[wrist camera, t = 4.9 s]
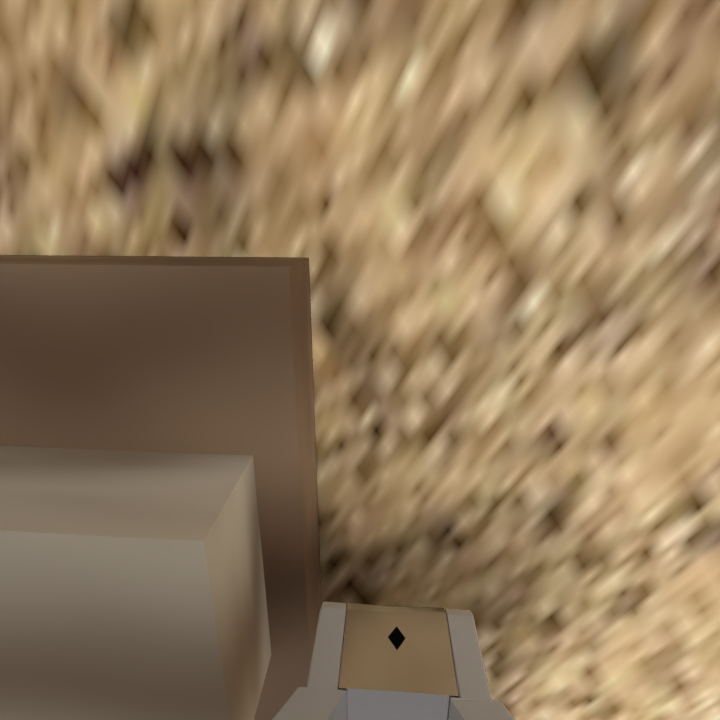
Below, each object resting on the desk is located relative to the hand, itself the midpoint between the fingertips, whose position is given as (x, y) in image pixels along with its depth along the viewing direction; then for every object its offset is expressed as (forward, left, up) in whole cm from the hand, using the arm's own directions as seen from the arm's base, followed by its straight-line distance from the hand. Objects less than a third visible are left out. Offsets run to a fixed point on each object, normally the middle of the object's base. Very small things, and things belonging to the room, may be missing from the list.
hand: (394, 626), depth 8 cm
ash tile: (0, -7, -1) cm, 7 cm away
